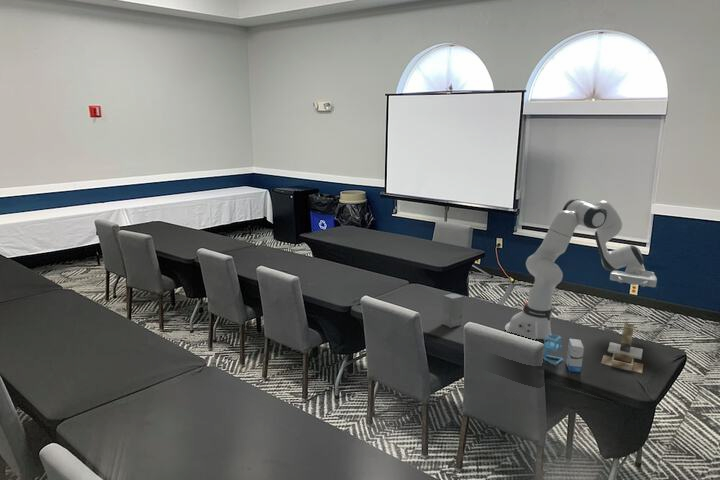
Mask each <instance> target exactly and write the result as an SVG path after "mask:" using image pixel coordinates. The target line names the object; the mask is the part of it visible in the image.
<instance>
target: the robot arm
mask: <svg viewBox="0 0 720 480" xmlns="http://www.w3.org/2000/svg"><path fill="white" fill-rule="evenodd" d="M579 225H580V226H583V227H586V228H588V229H592V230H595V229H597V230H595V231H594V238H595V242H596V246H597V249H598V252H599V255H600V260H601V264H602V266H603V268H604V270H607V271H609V273H610V275H609V280H610V281H614V282H618V284H619V283H621V284H623V283H627V284H629V285H633V286H640V287H643V288H644V287H650V288H657V283H658V278H657V276H656V275H655V272H653V271H651V270H650V271H649V270H647V269H646V268H645V265H644V256H643V254H642V252H641V250H640V248H638V247H637V246H635V245H633V244H630V245H625V246H622V247H620V248H616V249H613V250H609V249H608V247H607V243H608V242H609V241H610V240H612V239H613V238H615V237H616V236H617V235H619V233H620V231H621V230H622V228H623V222H622V219H621V217H620V215H619V213H618V212H617V210H616V209H615V208H614V207H613V206H612V204H611V203H610V202H608V201H607V200H598V201H596V202H595V203H593V204H592V203H591V202H588V201H586V200H581V199H578V198H573V199H570V200H568V201H567V202H566V203H565V204H564V206H563V208H562V210H560V211H558V213H557V214H556V215H555V217H554V218H553V220H552V221H551V224H550V226H549V227H548V230H547V232H546V234H545V236H544V238H543V240H542V243H540V245H539V247H538V248H537V250H536V251H535V252H534V253H533V254H531V255H530V256H528V257H527V259H526V261H525V266H526V267H525V268H526V269H527V271H528V272H529V274H530V275H532V276H533V277H534V282H533V285H532V287H531V288H530V289H529V291H528V301H527V302H524V304H523V306H522V311H520V312H517V313H516V314H514V315H513V316H512V317H511V319H510V321H509V322H507V323H506V324H505V326H504V331H505V330H506V331H505V332H506V333H509V332H510V333H509V334H512V333H517V335H516V336H518V334H519V335H520V336H519V337H522V336H524V337H523V338H525V337H527V338H526V339H528V338H531V339H534V340H533V341H536V339H537V340H544V339H543V338H549V335H553V334H552V329H551V320H552V314H553V308H552V304H553V298H554V292H555V289H556V287H557V286H558V284H560V283H561V282H562V280H563V277H564V274H563V271H562V269H561V268H560V266H559V265H558V264H557V263H555V261H556V260H557V259H558V258H559V257H560V256H561V255H562V254H564V253H565V252H566V250H567V249H568V246H569V244H570V241H571V240H572V238H573V235H574V233H575V229H576V228H577V227H578V226H579ZM621 268H625V270H624V271H621V270H619V269H621ZM511 332H512V333H511ZM521 335H522V336H521ZM531 339H530V340H531Z"/></svg>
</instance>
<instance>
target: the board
mask: <svg viewBox="0 0 720 480" xmlns="http://www.w3.org/2000/svg"><path fill="white" fill-rule="evenodd" d="M620 347H621V343H615V342H611V341H610V342H609V345H608V349H607V353H611V354H614V352H616V353H621V354H625V355H629V356H634V359H638V360H642V358H643V350H644V349H643V348H639V347H634V346H631V348H630V353H629V352H624V351H620Z"/></svg>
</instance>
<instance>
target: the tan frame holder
mask: <svg viewBox="0 0 720 480" xmlns="http://www.w3.org/2000/svg"><path fill="white" fill-rule="evenodd" d="M612 354H613V355H612V356H610V355H609V356H608V355H606V354H604V355H603V356H602V359H601V362H600V364H601V365H603V366H604V365H605V366H608V367H612V368H617V369H620V370H625V371H629V372H633V373H639V374H641V375H642V374H643V369H644V363H639V362H635V358H634V356H629V355H625V354H621V353H616V352H614V353H612Z"/></svg>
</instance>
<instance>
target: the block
mask: <svg viewBox="0 0 720 480" xmlns="http://www.w3.org/2000/svg"><path fill="white" fill-rule="evenodd" d="M634 327H635V324H633V323H632V324H631V323H627V322H624V324H623V328H622V334H621V341H620V344H621V347H620V351H624V352H629V353H630V348H631V347H632V342H633V335H634V329H635V328H634Z"/></svg>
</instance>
